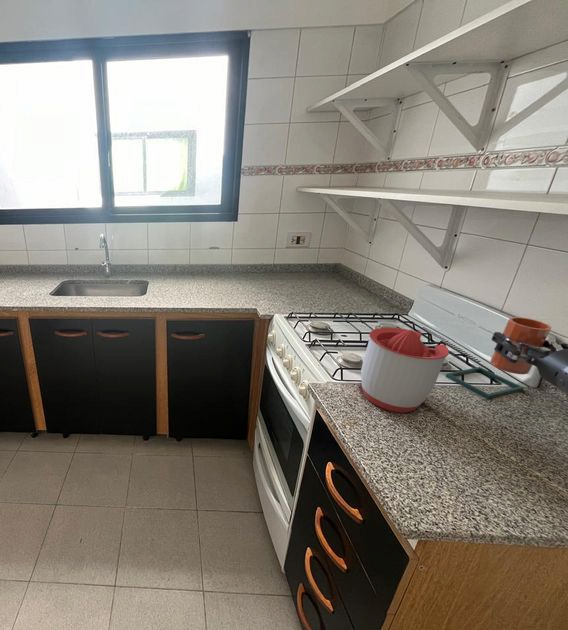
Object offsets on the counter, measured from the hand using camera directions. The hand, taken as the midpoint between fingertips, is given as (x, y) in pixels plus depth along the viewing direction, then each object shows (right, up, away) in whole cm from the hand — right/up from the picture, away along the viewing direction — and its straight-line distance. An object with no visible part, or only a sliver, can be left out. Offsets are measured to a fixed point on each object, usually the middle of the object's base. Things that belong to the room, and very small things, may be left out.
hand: (512, 336), depth 78 cm
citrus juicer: (-19, -17, +12) cm, 28 cm away
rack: (+8, -15, +15) cm, 23 cm away
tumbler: (0, -7, 0) cm, 7 cm away
